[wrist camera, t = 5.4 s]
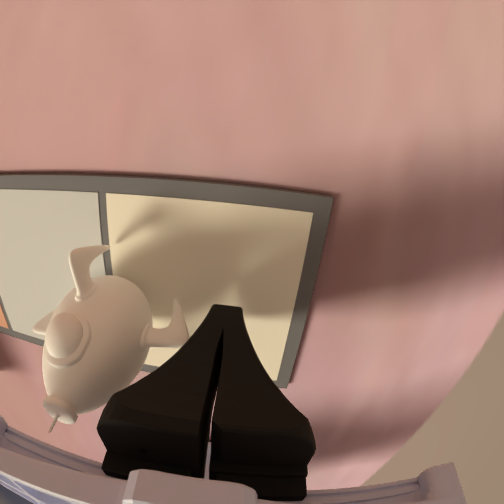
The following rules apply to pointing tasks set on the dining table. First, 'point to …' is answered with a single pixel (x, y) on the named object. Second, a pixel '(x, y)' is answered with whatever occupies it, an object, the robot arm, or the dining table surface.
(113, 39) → the dining table surface
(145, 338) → the rocket toy
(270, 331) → the game mat
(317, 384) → the dining table surface
